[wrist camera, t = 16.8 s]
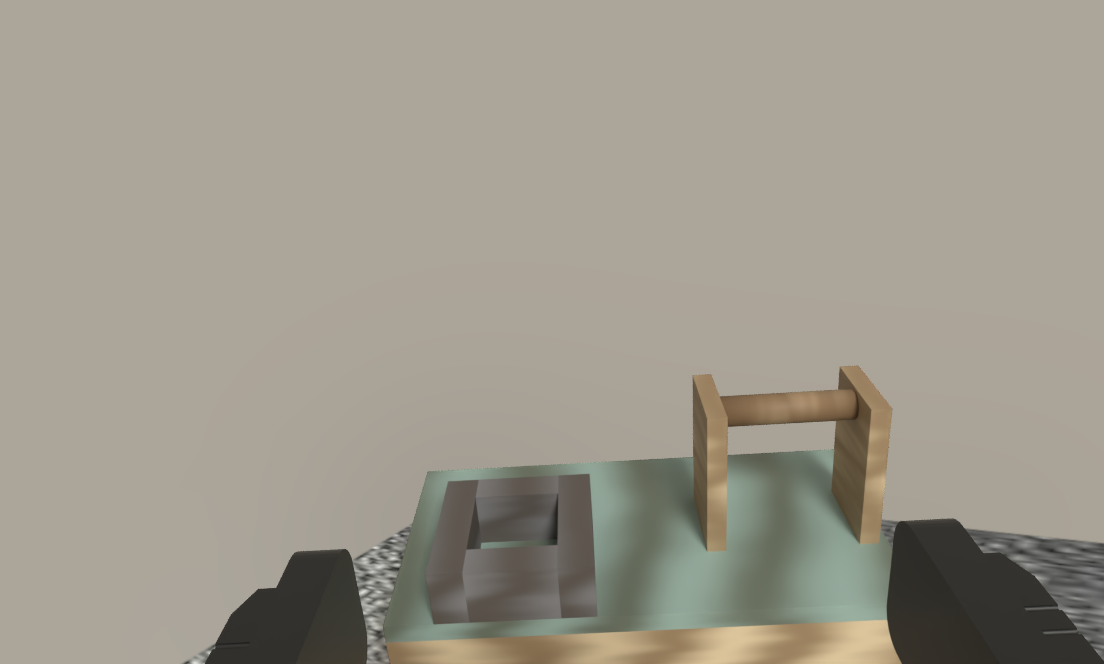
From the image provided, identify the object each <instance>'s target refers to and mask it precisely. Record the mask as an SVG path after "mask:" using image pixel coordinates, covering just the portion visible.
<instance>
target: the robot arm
mask: <svg viewBox="0 0 1104 664" xmlns="http://www.w3.org/2000/svg"><path fill="white" fill-rule="evenodd" d="M887 622H888V628H889V633H890V637H891V641H892V644H893V646H894V649H895V651H896V653H897V655H898V657H899V659H900V661H901V663H902V664H1104V661H1103V660H1102V659H1101V657H1100V656H1099V655H1098V654H1097V652H1096V651H1095V650H1094V649H1093V647H1092V646H1091V645H1090V644H1089V643H1088V641H1087V640H1086V639H1085V638H1084V636H1083V635H1082V634H1078V633H1077V628H1076V627H1075V625H1074V624H1073V623H1072V622H1071V620H1070V619H1069V618H1068V617H1067V615H1066V614H1065V613H1064V612H1063V611H1062V610H1059V609H1058V604H1057V603H1056V602H1055V601H1054V599H1053V598H1052V597H1051V596H1050V595H1049V593H1048V592H1047V591H1046V590H1045V588H1044V587H1043V586H1042V585H1041V583H1040V582H1039V581H1038V580H1037V579H1036V577H1035V576H1034V575H1032V574H1031V573H1029V572H1028V571H1026V570H1025V569H1023V568H1022V567H1020V566H1019V565H1017V564H1016V563H1014V562H1013V561H1011V560H1010V559H1008V558H1007V557H1006V556H1004V555H1003V554H1001V553H983V552H982V551H981V550H980V548H979V547H978V546H977V544H976V543H975V542H974V540H973V539H972V538H971V536H970V535H969V534H968V532H967V531H966V530H965V528H964V527H963V526H962V525H961V524H960V522H958V521H957V520H956V519H934V520H914V521H901V522H899V523H898V524H897V526H896V528H895V532H894V540H893V550H892V559H891V568H890V578H889V587H888V597H887ZM366 661H367V632H366V626H365V621H364V616H363V611H362V606H361V602H360V597H359V592H358V587H357V582H356V577H355V572H354V567H353V562H352V558H351V556H350V554H349V552H348V550H346V549H339V550H320V551H301V552H296V553H294V554H293V555H292V557H291V559H290V560H289V563H288V565H287V567H286V569H285V571H284V573H283V575H282V577H281V579H280V581H279V584H278V585H277V587H276V588H267V589H258V590H257V591H256V592H255V593H254V594H252V595H251V596H250V597H249V598H248V599H247V600H246V601H245V602H244V603H243V604H242V605H241V606H240V607H239V608H238V609H237V610H236V611H234V612H233V613H232V614H231V616H230V617H229V619H228V622H227V623H226V625H225V627H224V629H223V631H222V632H221V634H220V636H219V638H218V640H217V642H216V648H215V649H213V650H212V651H211V653H210V655H209V657H208V659H207V661H206V663H205V664H366Z"/></svg>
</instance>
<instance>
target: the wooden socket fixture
mask: <svg viewBox="0 0 1104 664" xmlns="http://www.w3.org/2000/svg"><path fill="white" fill-rule="evenodd" d="M891 416H892V408H891V406H890V405H889V404H888V403H887V401H886V400H885V399H884V398H883V396H882V395H881V394H880V392H879V391H878V390H877V389H876V387H875V386H874V385H873V384H872V382H871V381H870V380H869V378H868V377H867V376H866V375H865V373H864V372H863V371H862V370H861V368H860V367H859V366H844V367H840V372H839V386H838V390H827V391H826V390H825V391H809V392H790V393H776V394H774V393H773V394H758V395H757V394H756V395H740V396H722V397H720V396H719V394H718V391H717V389H716V386H715V383H714V381H713V378H712V375H711V374H707V375H693V457H686V458H668V459H649V460H632V461H613V462H594V463H577V464H558V465H540V466H522V467H503V468H485V469H467V470H448V471H430V472H427V476H426V479H425V483H424V486H423V490H422V493H421V496H420V500H419V503H418V507H417V510H416V514H415V517H414V521H413V524H412V528H411V531H410V535H409V538H408V542H407V545H406V549H405V552H404V556H403V559H402V562H401V566H400V569H399V573H398V576H397V580H396V583H395V587H394V590H393V594H392V597H391V601H390V604H389V608H388V611H387V615H386V618H385V621H384V625H383V630H384V635H385V640H386V645H387V650H388V655H389V661H390V664H902V663H901V661H900V659H899V657H898V655H897V653H896V651H895V649H894V646H893V644H892V641H891V637H890V633H889V628H888V622H887V597H888V587H889V578H890V568H891V559H892V550H893V549H892V547H891V546H890V544H889V542H888V541H887V539H886V537H885V535H884V534H883V532H882V530H881V519H882V509H883V499H884V488H885V478H886V468H887V457H888V448H889V437H890V426H891ZM821 421H836V430H835V445H834V450H833V449H832V450H815V451H796V452H778V453H761V454H743V455H742V454H741V455H727V442H728V436H727V434H728V427H731V426H749V425H765V424H766V425H767V424H785V423H803V422H821Z"/></svg>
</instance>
